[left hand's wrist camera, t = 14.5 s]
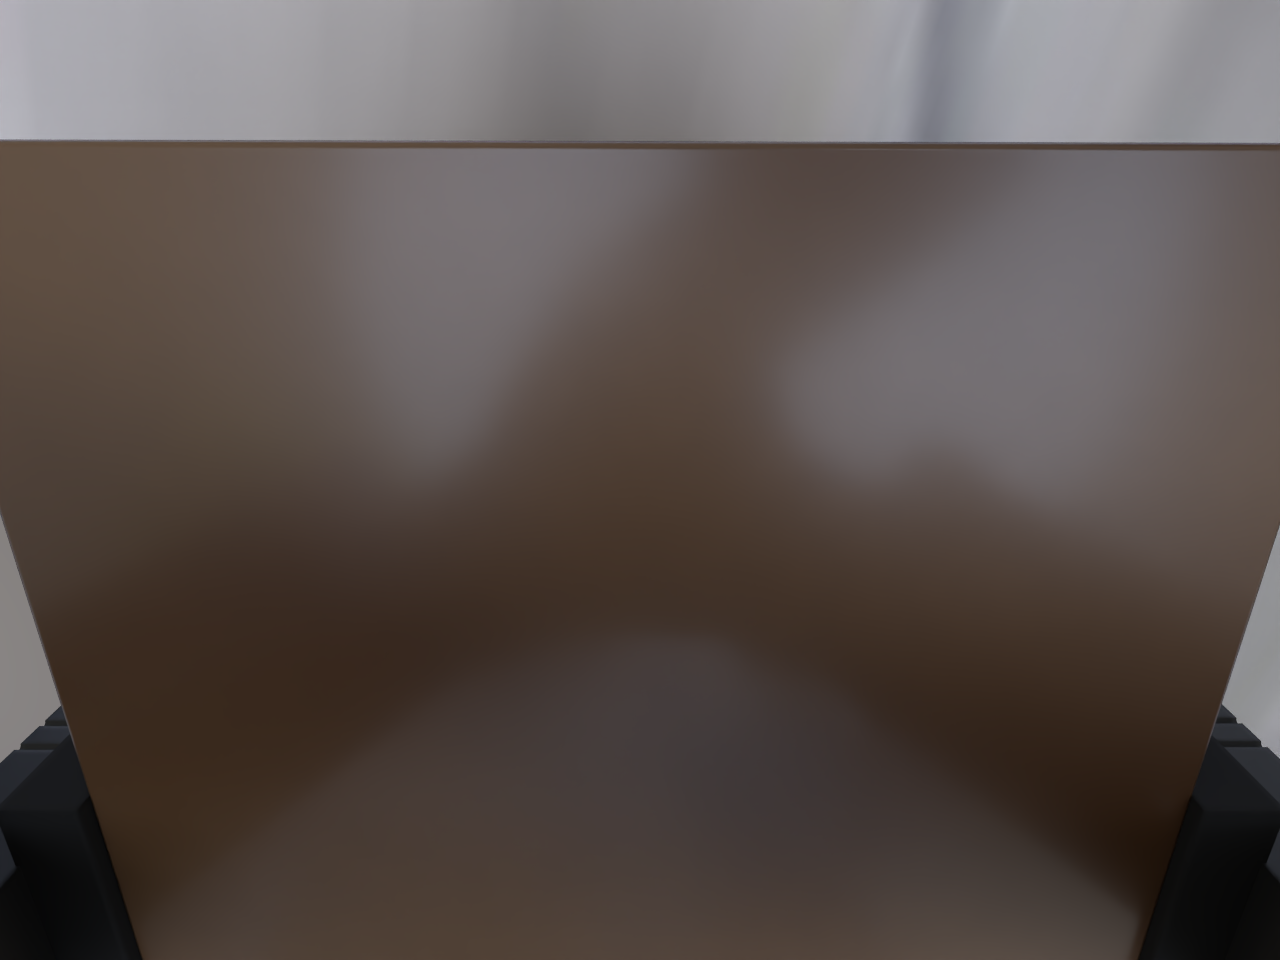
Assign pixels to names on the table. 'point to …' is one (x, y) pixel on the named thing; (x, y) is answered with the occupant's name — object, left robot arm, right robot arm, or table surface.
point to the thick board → (640, 534)
